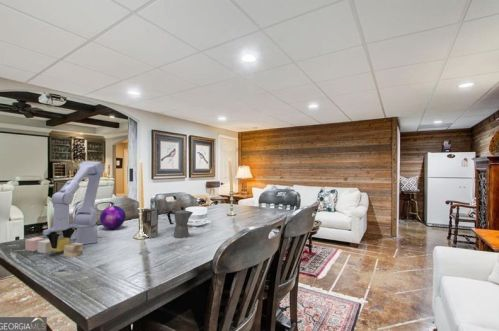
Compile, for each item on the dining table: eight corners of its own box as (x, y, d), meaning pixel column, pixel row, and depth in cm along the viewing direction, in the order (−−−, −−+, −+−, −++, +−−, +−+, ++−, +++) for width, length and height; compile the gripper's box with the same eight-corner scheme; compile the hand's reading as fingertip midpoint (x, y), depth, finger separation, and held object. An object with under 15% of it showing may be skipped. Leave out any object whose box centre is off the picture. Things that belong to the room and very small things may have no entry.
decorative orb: (93, 230, 160) (94, 207, 160) (110, 225, 175) (111, 203, 175) (114, 232, 157) (115, 208, 157) (129, 226, 172) (130, 205, 172)
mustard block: (61, 247, 121) (61, 236, 121) (69, 248, 120) (69, 237, 120) (50, 250, 116) (51, 239, 116) (58, 251, 115) (59, 240, 115)
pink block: (36, 247, 125) (36, 237, 125) (43, 248, 124) (44, 238, 124) (25, 250, 121) (25, 239, 121) (32, 251, 119) (33, 240, 119)
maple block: (73, 253, 119) (74, 242, 119) (82, 254, 117) (82, 243, 117) (63, 256, 114) (64, 245, 114) (72, 258, 113) (72, 247, 113)
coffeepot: (192, 234, 159) (193, 205, 160) (192, 238, 150) (193, 208, 150) (167, 234, 156) (168, 205, 156) (165, 238, 147) (166, 208, 147)
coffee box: (158, 235, 152) (159, 209, 153) (150, 238, 146) (151, 211, 146) (145, 234, 155) (146, 208, 156) (138, 236, 149) (139, 209, 149)
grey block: (48, 249, 123) (48, 238, 123) (56, 250, 122) (56, 240, 122) (37, 252, 118) (37, 241, 118) (45, 253, 117) (45, 242, 117)
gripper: (69, 214, 126) (68, 241, 126) (38, 219, 112) (37, 250, 112) (80, 215, 124) (79, 242, 124) (50, 221, 110) (49, 251, 110)
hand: (60, 246), depth 118 cm, fingers closed on mustard block, 5 cm apart
